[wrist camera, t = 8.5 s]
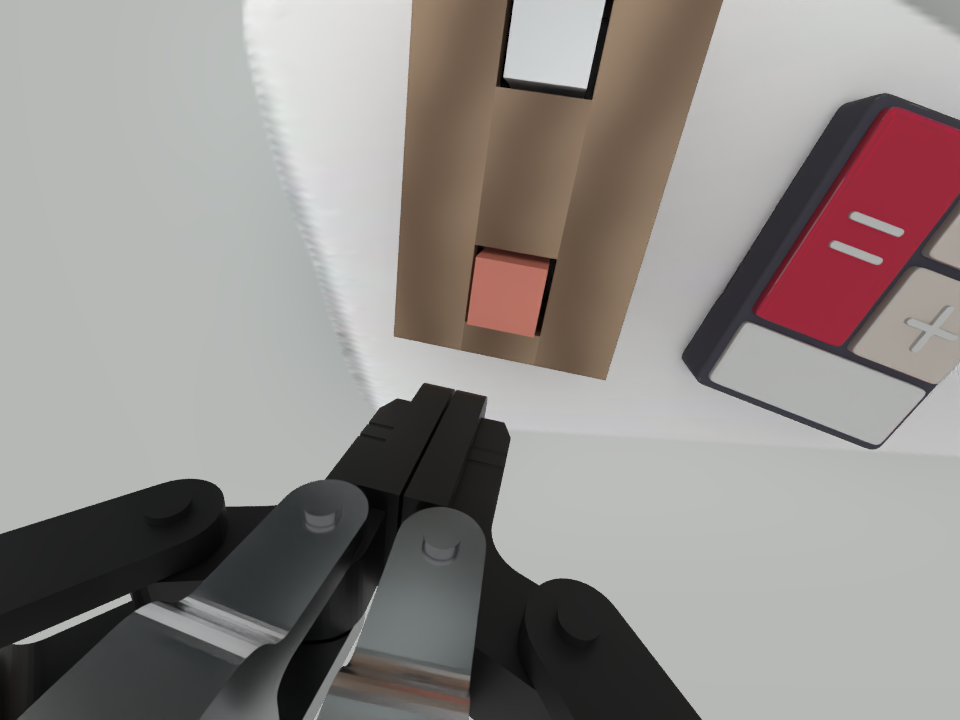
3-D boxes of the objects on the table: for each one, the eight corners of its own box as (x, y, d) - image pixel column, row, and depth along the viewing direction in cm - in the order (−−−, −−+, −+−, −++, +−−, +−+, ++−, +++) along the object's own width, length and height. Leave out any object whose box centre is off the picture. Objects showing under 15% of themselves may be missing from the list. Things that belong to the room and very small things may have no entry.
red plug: (553, 242, 25) (548, 270, 19) (541, 295, 26) (533, 337, 20) (498, 232, 25) (475, 256, 19) (490, 285, 27) (466, 324, 20)
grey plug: (597, 33, 21) (610, -21, 15) (581, 108, 22) (587, 88, 16) (532, 24, 21) (518, -31, 15) (520, 99, 23) (503, 77, 16)
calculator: (1149, 181, 17) (886, 461, 24) (1040, 181, 21) (839, 421, 28) (892, 84, 18) (697, 387, 24) (831, 103, 22) (677, 358, 28)
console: (691, -5, 20) (747, -78, 14) (596, 330, 28) (605, 380, 21) (462, -31, 21) (418, -110, 15) (431, 297, 29) (393, 336, 22)
